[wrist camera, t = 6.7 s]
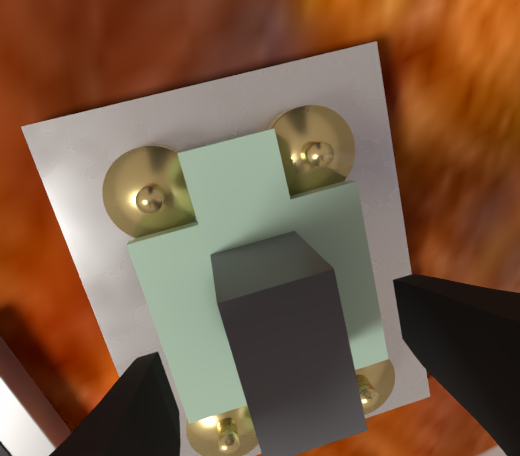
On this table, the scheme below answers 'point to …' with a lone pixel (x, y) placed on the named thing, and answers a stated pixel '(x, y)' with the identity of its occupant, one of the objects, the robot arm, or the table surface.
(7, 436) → the picture frame
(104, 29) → the table surface
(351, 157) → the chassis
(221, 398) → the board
